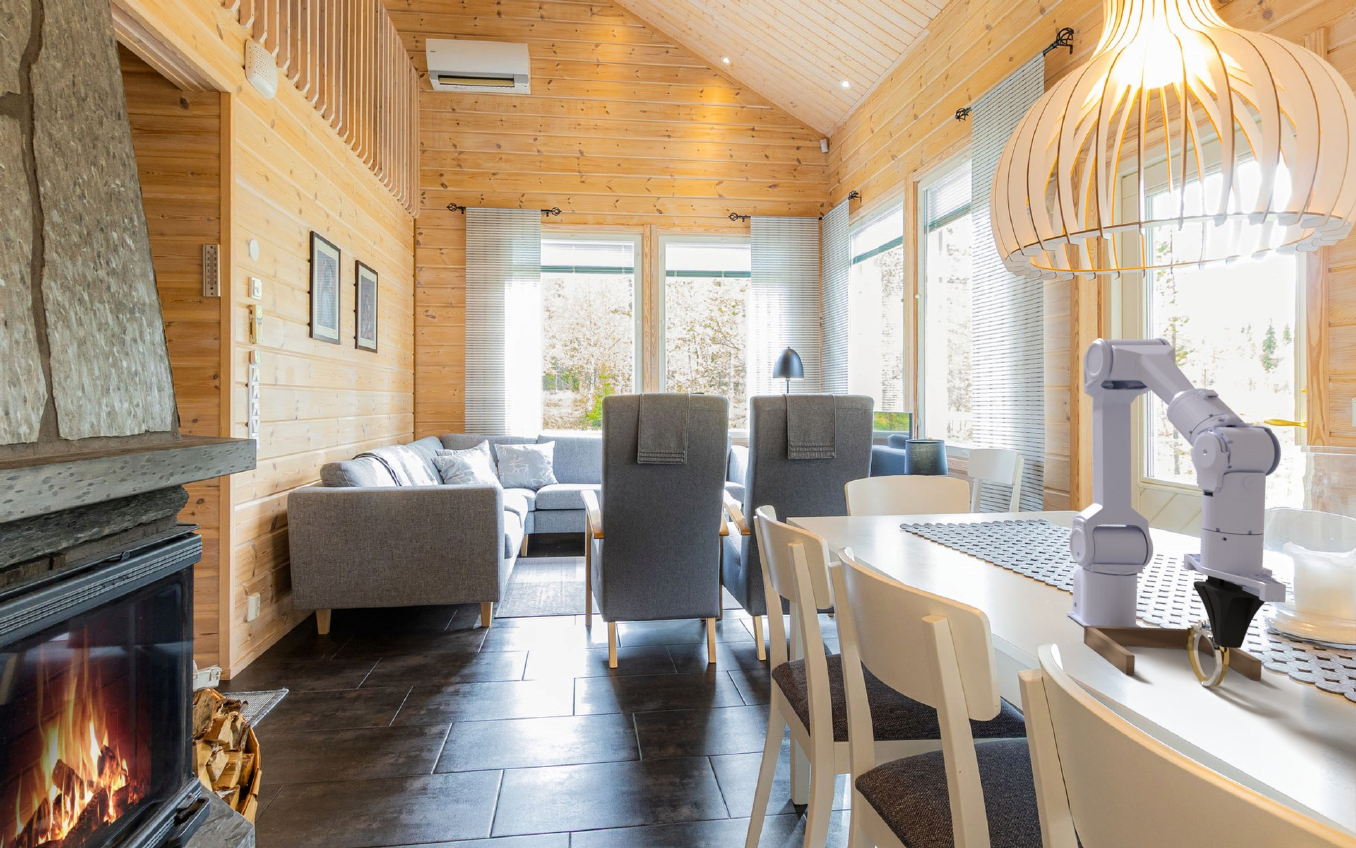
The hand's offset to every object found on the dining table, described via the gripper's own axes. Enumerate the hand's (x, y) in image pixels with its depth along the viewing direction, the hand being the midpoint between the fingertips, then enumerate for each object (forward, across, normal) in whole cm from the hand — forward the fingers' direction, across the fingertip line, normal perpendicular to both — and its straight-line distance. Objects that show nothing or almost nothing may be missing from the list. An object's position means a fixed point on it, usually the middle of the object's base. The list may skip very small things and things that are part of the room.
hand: (1227, 645), depth 82 cm
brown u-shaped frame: (+6, +12, 0) cm, 14 cm away
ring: (+7, +4, 0) cm, 8 cm away
